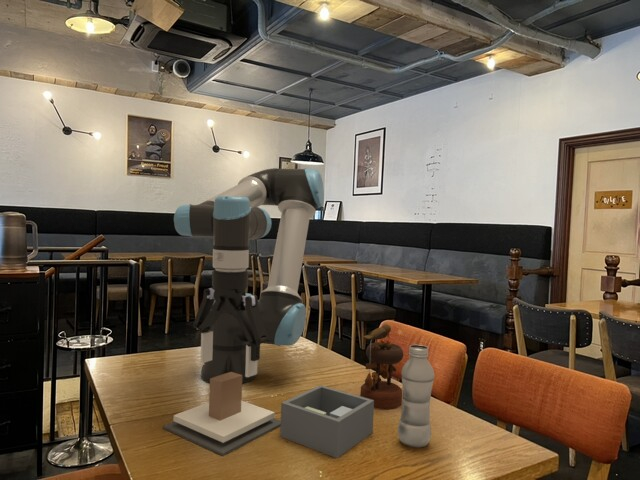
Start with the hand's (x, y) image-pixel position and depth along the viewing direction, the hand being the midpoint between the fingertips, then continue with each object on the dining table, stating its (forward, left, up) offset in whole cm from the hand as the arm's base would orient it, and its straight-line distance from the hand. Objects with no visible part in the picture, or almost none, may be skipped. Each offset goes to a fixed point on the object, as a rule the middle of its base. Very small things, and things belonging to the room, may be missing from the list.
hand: (228, 368), depth 98 cm
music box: (+19, +36, -13) cm, 42 cm away
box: (+19, +11, -12) cm, 25 cm away
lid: (0, 0, -11) cm, 11 cm away
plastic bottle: (+35, +19, -13) cm, 42 cm away
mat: (0, 0, -12) cm, 12 cm away
